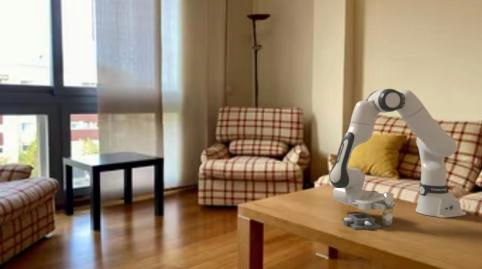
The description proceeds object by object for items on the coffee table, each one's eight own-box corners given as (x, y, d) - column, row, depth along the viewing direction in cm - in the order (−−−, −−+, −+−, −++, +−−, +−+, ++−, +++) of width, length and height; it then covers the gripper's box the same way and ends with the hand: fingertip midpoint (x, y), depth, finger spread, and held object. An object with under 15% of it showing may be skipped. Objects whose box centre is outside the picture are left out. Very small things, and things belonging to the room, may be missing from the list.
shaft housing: (366, 219, 188) (367, 211, 188) (382, 229, 175) (382, 221, 174) (338, 220, 186) (339, 212, 186) (352, 230, 172) (352, 222, 172)
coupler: (388, 223, 183) (390, 192, 182) (393, 226, 179) (395, 194, 178) (380, 223, 182) (382, 192, 181) (385, 226, 178) (386, 194, 177)
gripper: (348, 195, 184) (375, 202, 173) (377, 190, 196) (403, 196, 185) (348, 209, 185) (374, 217, 173) (377, 203, 196) (403, 210, 185)
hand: (389, 206), depth 179 cm, fingers open, 5 cm apart
